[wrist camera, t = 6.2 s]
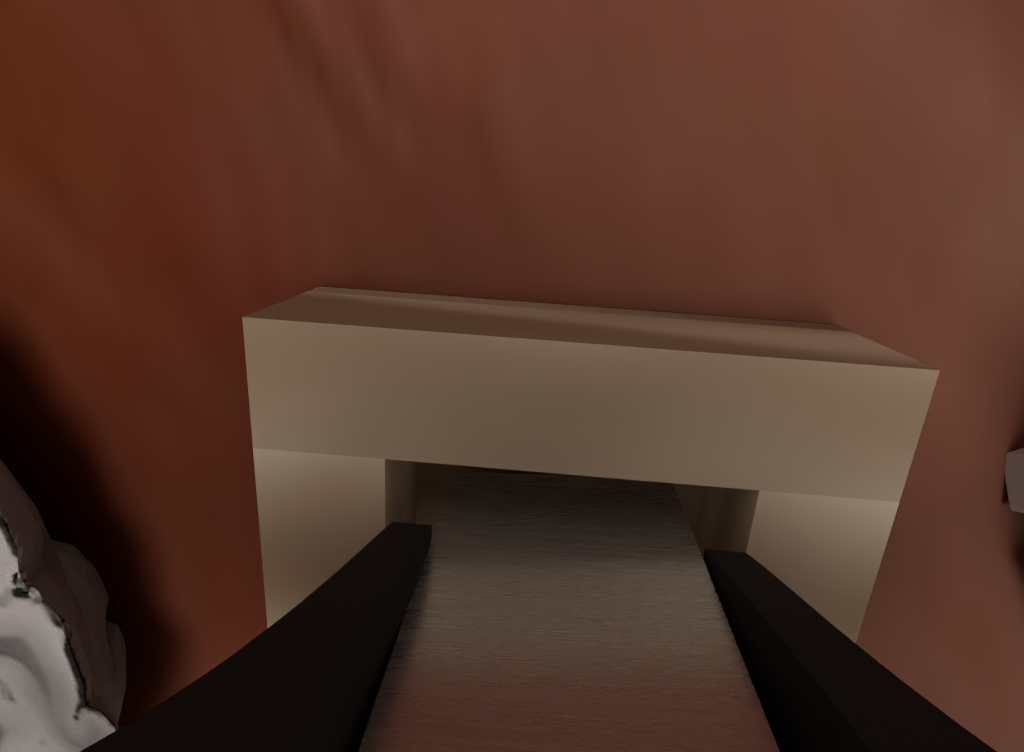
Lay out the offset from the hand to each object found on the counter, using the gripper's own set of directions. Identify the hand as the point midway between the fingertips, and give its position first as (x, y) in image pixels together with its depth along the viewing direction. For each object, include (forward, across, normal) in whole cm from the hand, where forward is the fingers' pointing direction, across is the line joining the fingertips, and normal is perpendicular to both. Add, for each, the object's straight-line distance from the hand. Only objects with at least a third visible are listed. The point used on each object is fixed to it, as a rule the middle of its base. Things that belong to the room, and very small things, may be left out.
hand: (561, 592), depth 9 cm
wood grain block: (+2, 0, +1) cm, 2 cm away
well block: (+4, 0, +1) cm, 4 cm away
